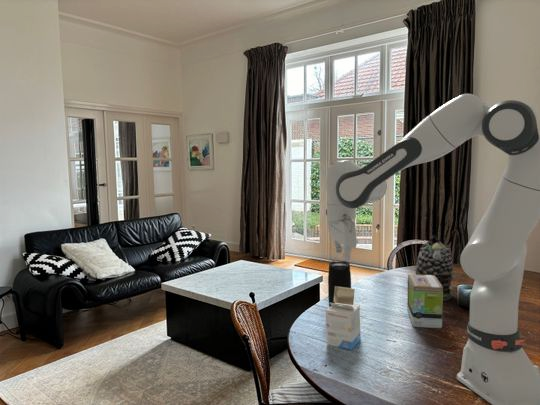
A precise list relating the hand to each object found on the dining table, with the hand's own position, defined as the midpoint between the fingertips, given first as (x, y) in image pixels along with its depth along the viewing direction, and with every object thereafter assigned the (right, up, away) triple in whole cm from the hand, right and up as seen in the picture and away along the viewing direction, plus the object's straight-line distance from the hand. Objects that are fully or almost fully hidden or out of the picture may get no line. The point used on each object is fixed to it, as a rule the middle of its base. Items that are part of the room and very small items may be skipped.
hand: (342, 256), depth 128 cm
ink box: (+1, -28, +3) cm, 29 cm away
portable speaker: (+4, -26, +27) cm, 38 cm away
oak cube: (0, -15, +2) cm, 15 cm away
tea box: (+33, -26, +19) cm, 46 cm away
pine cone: (+47, -22, +44) cm, 68 cm away
